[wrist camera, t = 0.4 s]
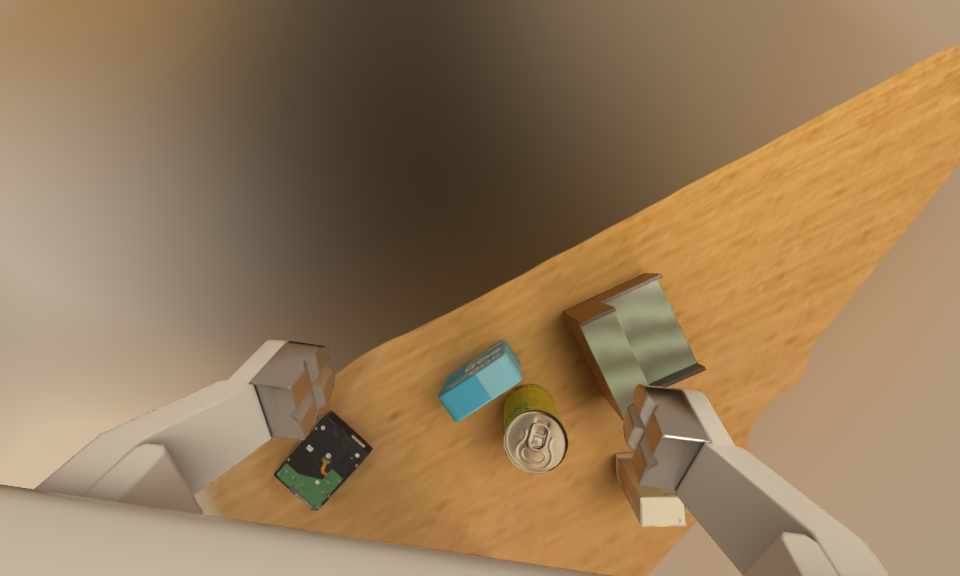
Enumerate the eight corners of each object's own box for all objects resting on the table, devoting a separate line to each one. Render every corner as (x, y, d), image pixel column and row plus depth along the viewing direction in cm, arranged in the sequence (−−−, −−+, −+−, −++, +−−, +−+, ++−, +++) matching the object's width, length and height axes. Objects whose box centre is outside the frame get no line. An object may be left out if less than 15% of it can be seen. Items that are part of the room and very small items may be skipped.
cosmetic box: (651, 451, 62) (687, 496, 50) (652, 476, 62) (689, 527, 50) (613, 453, 62) (639, 497, 50) (614, 477, 62) (641, 527, 50)
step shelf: (686, 360, 61) (738, 385, 47) (603, 396, 62) (631, 431, 48) (645, 273, 60) (686, 274, 47) (563, 311, 62) (579, 322, 48)
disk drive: (331, 408, 65) (281, 467, 66) (324, 414, 62) (271, 476, 63) (374, 446, 65) (323, 505, 66) (369, 454, 62) (315, 515, 63)
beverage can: (499, 429, 63) (498, 466, 51) (508, 379, 63) (509, 405, 51) (550, 439, 63) (561, 479, 51) (559, 389, 62) (573, 417, 50)
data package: (505, 337, 62) (505, 353, 50) (519, 359, 62) (523, 380, 50) (448, 375, 63) (435, 399, 51) (462, 396, 63) (453, 425, 51)
